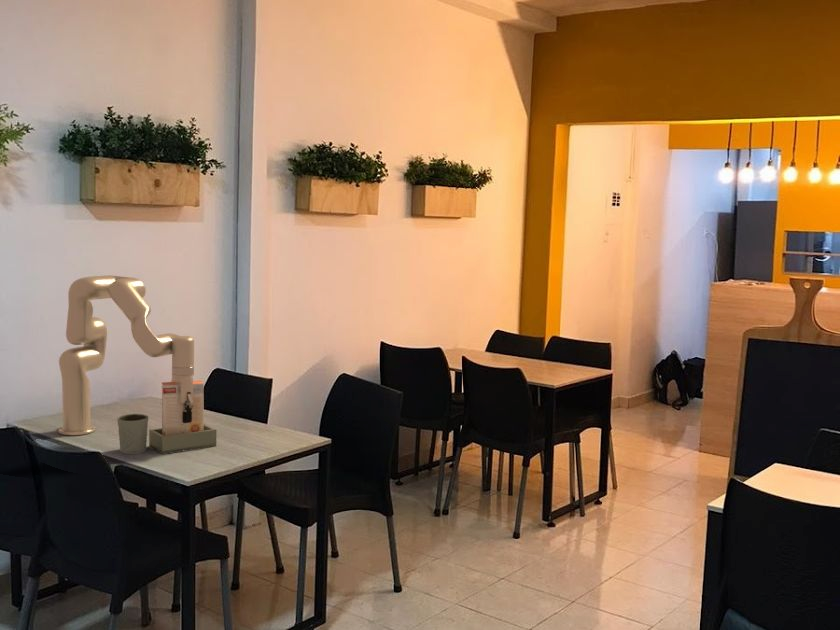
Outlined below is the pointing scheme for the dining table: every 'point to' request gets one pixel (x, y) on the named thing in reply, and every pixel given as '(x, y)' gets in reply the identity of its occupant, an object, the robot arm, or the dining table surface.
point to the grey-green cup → (133, 433)
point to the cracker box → (181, 410)
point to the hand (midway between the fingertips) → (182, 419)
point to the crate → (182, 440)
